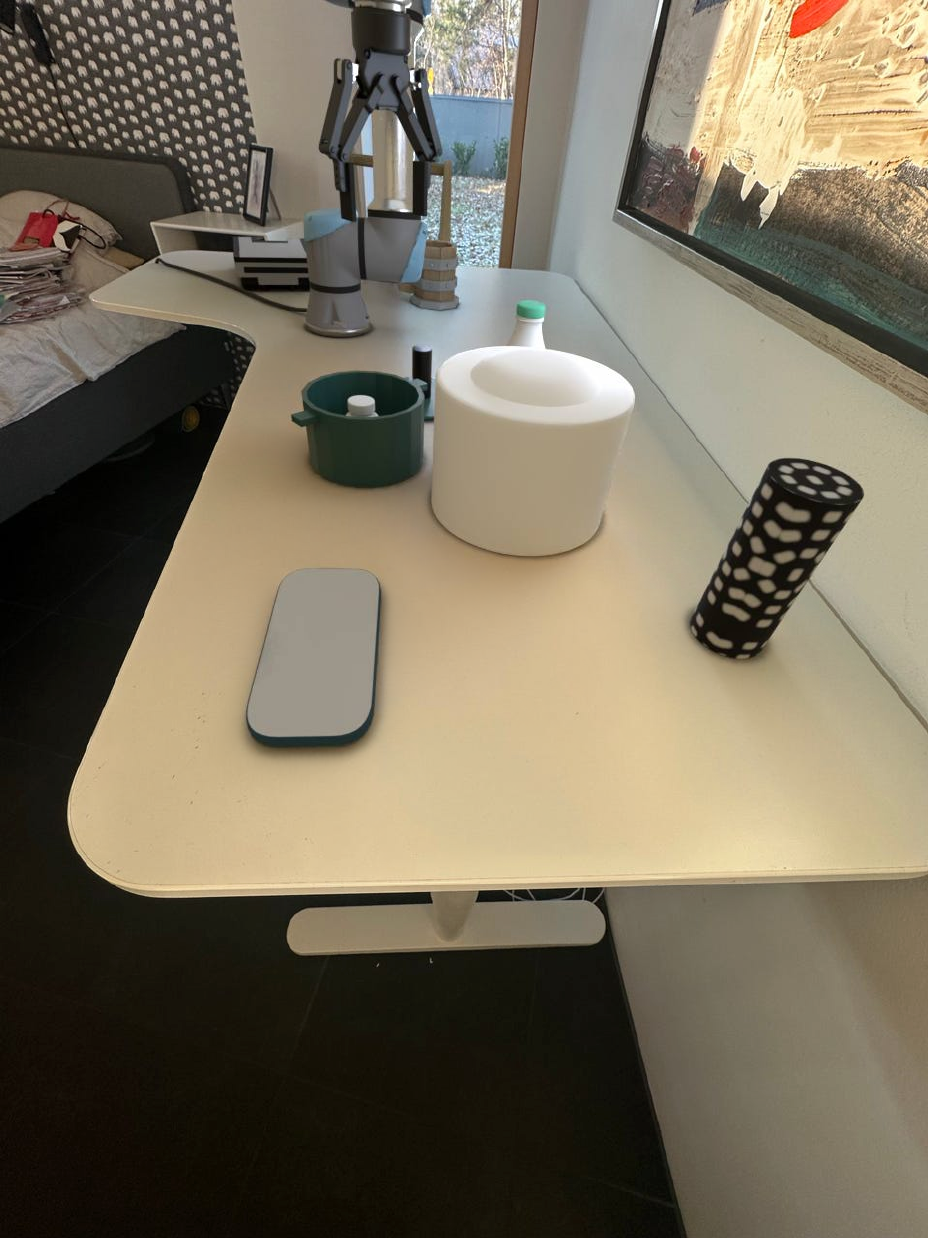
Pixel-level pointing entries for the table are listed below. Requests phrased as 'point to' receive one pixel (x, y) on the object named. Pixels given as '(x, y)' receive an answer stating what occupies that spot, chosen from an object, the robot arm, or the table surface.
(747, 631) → the white-spotted black cylinder
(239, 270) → the game console
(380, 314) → the table surface
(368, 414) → the pill bottle
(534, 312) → the milk bottle
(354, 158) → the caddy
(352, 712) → the external hard drive
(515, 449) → the container
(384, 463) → the pot
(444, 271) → the tankard
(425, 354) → the lid
